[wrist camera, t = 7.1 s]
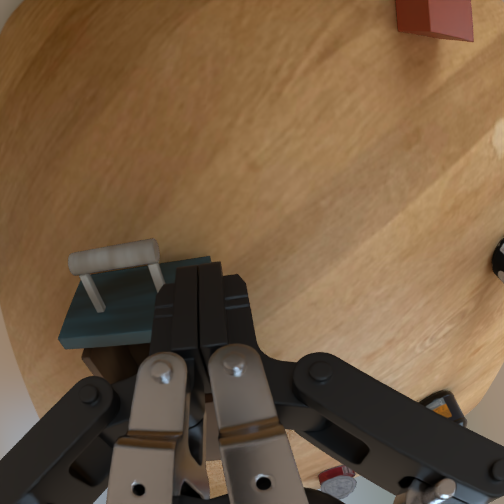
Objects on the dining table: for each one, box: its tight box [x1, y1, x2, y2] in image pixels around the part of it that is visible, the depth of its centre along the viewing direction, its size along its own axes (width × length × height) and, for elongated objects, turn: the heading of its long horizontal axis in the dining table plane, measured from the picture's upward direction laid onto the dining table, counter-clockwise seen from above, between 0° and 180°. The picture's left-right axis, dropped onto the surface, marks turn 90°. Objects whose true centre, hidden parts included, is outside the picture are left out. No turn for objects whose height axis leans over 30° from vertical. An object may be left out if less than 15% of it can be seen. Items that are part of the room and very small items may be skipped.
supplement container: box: [420, 391, 467, 428], centre depth 49 cm, size 10×10×12 cm
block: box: [395, 0, 474, 42], centre depth 15 cm, size 4×4×4 cm
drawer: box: [58, 238, 212, 395], centre depth 25 cm, size 18×11×7 cm, turn 6°
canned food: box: [318, 465, 357, 499], centre depth 69 cm, size 11×10×10 cm
